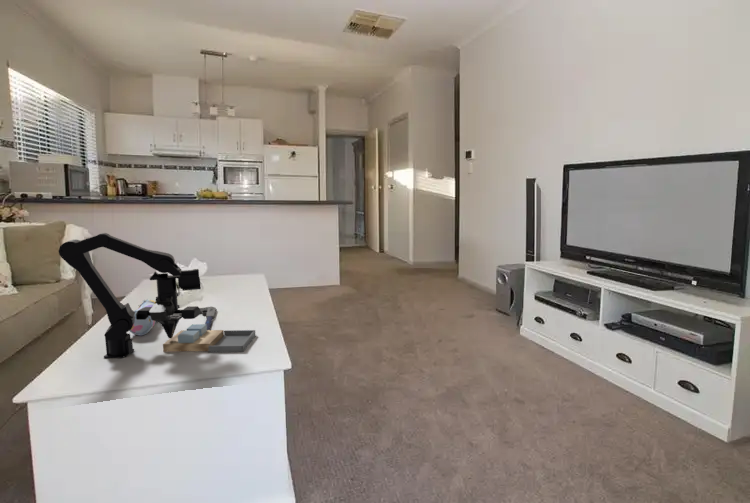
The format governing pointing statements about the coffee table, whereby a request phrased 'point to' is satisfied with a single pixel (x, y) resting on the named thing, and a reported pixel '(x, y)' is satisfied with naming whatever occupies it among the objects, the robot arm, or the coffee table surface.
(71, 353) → the coffee table surface
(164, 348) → the oak board
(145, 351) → the coffee table surface
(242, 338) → the tray
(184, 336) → the tile near
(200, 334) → the tile far
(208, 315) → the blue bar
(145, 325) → the pencil case
